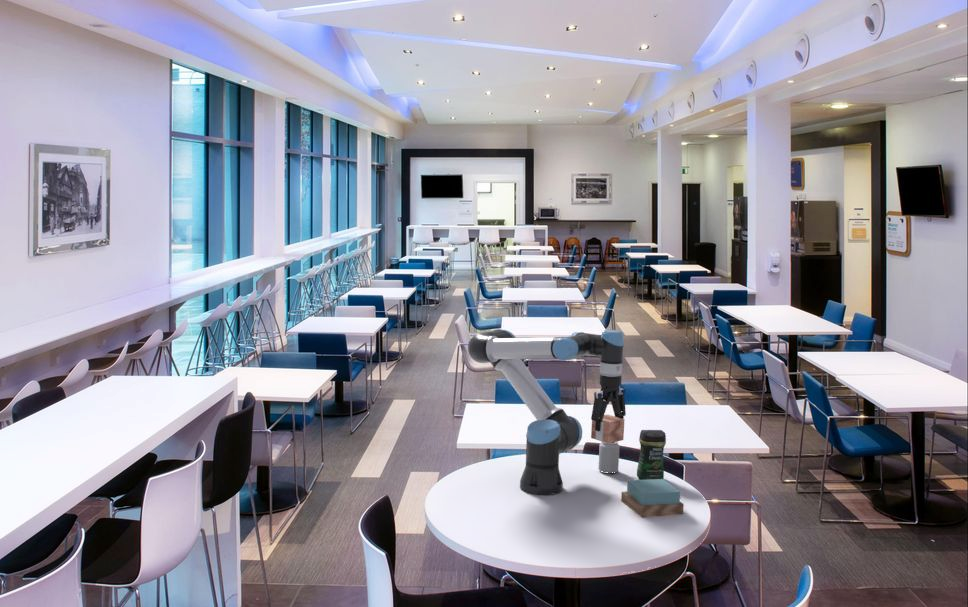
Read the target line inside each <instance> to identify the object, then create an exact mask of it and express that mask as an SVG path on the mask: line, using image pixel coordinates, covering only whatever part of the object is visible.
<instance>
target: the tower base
mask: <svg viewBox="0 0 968 607" xmlns="http://www.w3.org/2000/svg"><path fill="white" fill-rule="evenodd" d="M620 494H621V497H620V498H621V500H620V502H621V503H623V504H624V505H625V506H626V507H627V508H629V509H631V510H632V511H633V512H634V513H635V514H637V515H638V516H639V517H641V518H650V517H651V518H652V517H665V516H676V515H684V507H685V504H684V502H682V501H680V504H660V505H641V504H640V503H639V502H638V501H637V500H636V499H635V498H634V497H632V496H631V495H630V494H629V493H628V492H627V490H626V491H621V493H620Z"/></svg>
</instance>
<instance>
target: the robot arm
mask: <svg viewBox="0 0 968 607" xmlns="http://www.w3.org/2000/svg"><path fill="white" fill-rule="evenodd" d="M624 344H625V343H624V333H623V332H622V331H621V330H616V329H603V331H602V332H601V334H595V333H587V332H582V331H581V332H577V331H576V332H573V333H571V335H570V336H555V337H554V336H553V337H551V336H550V337H547V336H545V337H516V336H515V335H514V334H513V332H511V331H509V330H507V329H499V328H498V329H493V330H490V331H484V332H478V333H476V334H474V335H473V336H472V337H471V338H470V339H469V341H468V344H467V350H468V351H467V352H468V354H469V357H470V358H471V360H473V361H475V362H476V363H478V364H487V363H490V364H491V366H492V367H493V368H494V369H495V370H496V371H498V372H499V371H500V372H501V373H502V374H503V375H504V377H505V378H506V380H507V381H508V382H509V384H510V385H511V386H512V388H513V389H514V390H515V392H516V394H517V395H518V396H519V397H520V399H521V400H522V401H523V403H524V404H525V406H526V407H527V408H528V410H529V411H530V412H531V414H532V415H533V417H534V418H535V419H536V420H534V421H532V422H530V423H529V424H528V426H527V430H526V435H525V437H526V443H525V444H526V445H525V451H526V452H525V467H524V470H523V472H522V475H521V478H520V480H519V488H520V489H521V490H522V491H523V492H526V493H527V494H528V493H529V494H533V495H538V496H539V495H541V496H545V495H546V496H547V495H548V496H549V495H555V494H559V493H561V492H562V491H563V488H564V487H563V485H564V482H563V478H562V476H561V470H560V469H559V468H560V467H559V464H560V454H563V453H565V452H567V451H570V450H572V449H574V448H575V447H577V446H578V445H579V444H580V442H581V441H582V439H583V428H582V425H581V423H580V421H579V420H578V419H577V418H576V417H574V416H571V415H568V414H567V413H566V411H565V410H564V409H563V408H561V407H560V408H559V407H556V405H555V403H554V402H553V400H551V398H550V397H549V395H548V394H547V392H546V391H545V390H544V389H543V387H542V386H541V385H540V384H539V382H538V381H537V379H536V377H535V376H534V375H533V374H532V373H531V371H530V370H529V368H528V367H527V365H525V363H524V361H522V360H539V359H541V360H543V359H544V360H545V359H547V360H549V359H552V360H553V359H555V360H556V359H558V360H560V361H567V360H568V361H569V360H572V359H575V358H580V357H584V356H587V355H588V356H594V357H595V356H596V357H600V365H599V367H600V368H599V373H600V374H599V385H600V391H595V392H594V393H593V397H594V398H593V405H592V409H591V410H592V411H591V417H590V419H591V421H592V420H594V421H595V422H596V423H595V430H596V439H597V440H596V439H595V440H596V441H599V440H600V441H599V442H602V441H603V425H604V422H602V420H603V417H604V415H606V414H605V413H606V410H607V407H608V405H609V404H610V403H611V406H612V409H613V413H614V415H613V416H615V417H618V418H622V419H625V417H626V414H627V413H626V398H625V395H626V389H625V388H621V385H622V374H623V373H622V372H623V369H622V368H623V357H624V356H623V355H624V353H623V352H624Z"/></svg>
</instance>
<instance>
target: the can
mask: <svg viewBox="0 0 968 607" xmlns="http://www.w3.org/2000/svg"><path fill="white" fill-rule="evenodd" d="M598 446H599V448H598V451H599V452H598V453H599V454H598V467H597V468H598V470H599V471H600V472H601V471H603V472H608V473H612V472H613V473H614V472H616V473H617V472H618V471H619V465H620V464H619V463H620V444H619V441H617V442H612V443H605V442H602V441H600V443H599V445H598ZM614 474H615V473H614Z"/></svg>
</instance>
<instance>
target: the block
mask: <svg viewBox="0 0 968 607" xmlns="http://www.w3.org/2000/svg"><path fill="white" fill-rule="evenodd" d="M602 422H604V425H603V441H600V440H597V439H596V430H595V423H596V422H595V421H594V420H591V433H590V438H591V439H594V440H596V441H599V442H605V443H612V442H617V441H618V442H621V441H624V437H625V436H624V434H625V418H623V419H622V418H618V417H615V415H611V414H604V417H603V420H602Z"/></svg>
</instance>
